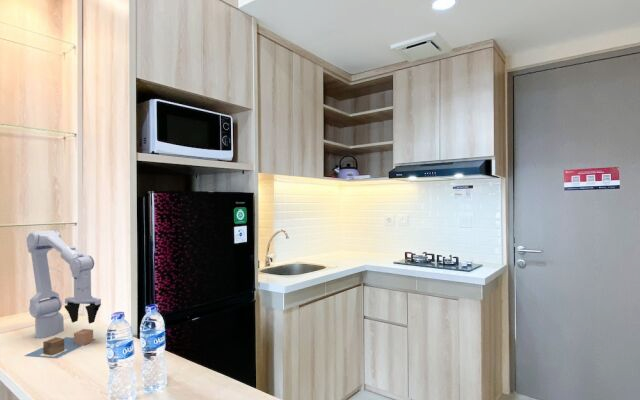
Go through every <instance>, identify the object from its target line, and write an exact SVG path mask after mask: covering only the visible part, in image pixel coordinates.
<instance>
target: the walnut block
mask: <svg viewBox="0 0 640 400" xmlns="http://www.w3.org/2000/svg"><path fill="white" fill-rule="evenodd" d="M64 338H65V337H56V336H55V337H53V338H49V339H47V340H44V341H43V342H42V344H43V345H42V348H43V354H46V355H52V356H53V355H55V354H57V353H60V352H62V351H64Z"/></svg>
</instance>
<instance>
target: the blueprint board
mask: <svg viewBox="0 0 640 400" xmlns="http://www.w3.org/2000/svg"><path fill="white" fill-rule="evenodd" d="M63 338H64V351H62V352H60V353H57V354H55V355H53V356H52V355H46V354H43V347H40V348H38V349H36V350H33V351H31V352H30V353H27V354H25V355H24V357H33V358H34V357H35V358H46V359H47V358H48V359H60V358H62V357H63V356H65V355H68V354H69V353H71V352H73V351H75V350H77V349H79V348H82V347H84V345H74V337H63ZM95 340H96V338H93V341H92V342H94V341H95Z"/></svg>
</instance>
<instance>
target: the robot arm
mask: <svg viewBox="0 0 640 400" xmlns="http://www.w3.org/2000/svg"><path fill="white" fill-rule="evenodd" d="M26 246H27V252H28V253H30V256H31V261H32V262H31V263H32V268H33V275H34V276H33V277H34V284H35V289H36V290H35V291H36V293H35V294H34V296H32V297H31V298H30V300H29V308H28V311H29V314H30V316H31V317H32V318H35V319H34V320H35V324H34V325H35V326H34V327H35V338H36V339H46V338H51V337H53V336H56V335H58V334H60V333H62V332H64V331H65V329H64V327H65V326H64V325H65V324H64V315H63V314H62V313H61V312H60V311H61V310H62V307H63V304H62V303H63V302H62V299H61V298H60V294H59V293H58V292H56V291H54V290H53V288H52V281H51V273H50V267H49V260H48V252H49V251H51V250H53V249H54V250H56V251H57V252H59V253H60V258H61V259H63V260H64V262H66V263H68V265H69V269H70V271H71V276H72V278H73V296H72V297H70V296H69V297H66V298H64V304H65V305H64V308H65V310H66V311H67V313H68V315H69V317H70V321H71V323H75V322H79V321H78V320H79V309H80V306H81V304H82V305H85V310H86V313H87V320H88V324H92V323H94V322H95V320H96V318H97V314H98V311H99V309H100V307H101V306H102V299H101V298H97V297H94V296H93V295H92V276H91V275H92V270H93V269H94V267H95V260H94V258H93V257H92V256H91V255H85V254H83V253H82V252H81V251H80V250H78V249H77V248H76V247H75V246H69V245H68V244H67V243H66V242H65V241H64V240H63V239H62V236H61V233H60V232H59V231H57V230H56V229H52V230H43V231H42V230H41V231H31V232H29V234H28V235H27V237H26Z"/></svg>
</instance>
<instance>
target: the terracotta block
mask: <svg viewBox="0 0 640 400" xmlns="http://www.w3.org/2000/svg"><path fill="white" fill-rule="evenodd" d="M73 338H74V345H83V346H86V345H88V344H90V343H92V342H94V341H93V339H94V329H92V328H89V329H88V328H82V329H80V330H78V331H76V332H73Z"/></svg>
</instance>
